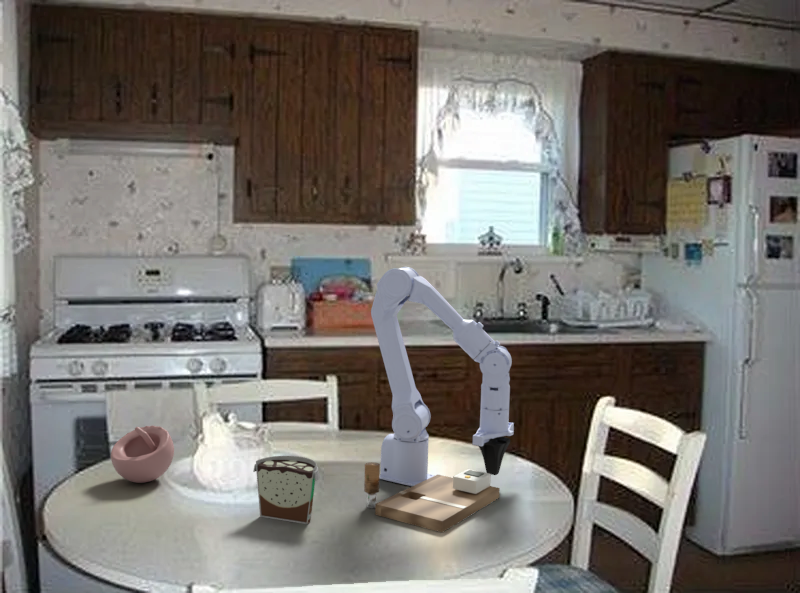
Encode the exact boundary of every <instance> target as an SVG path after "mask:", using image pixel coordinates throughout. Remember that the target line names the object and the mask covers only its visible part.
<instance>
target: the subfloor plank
mask: <svg viewBox="0 0 800 593" xmlns="http://www.w3.org/2000/svg"><path fill="white" fill-rule="evenodd" d="M498 498H499V499H500V487H496V486H492V485H490V486H489V487H487V488H486V489H484V490H482V491H480V492H479V493H477V494H474V493H470V492H465V491H461V490H456V489H453V477H451V476H446V475H441V474H435V476H433V477H431V478H429V479H427V480H425V481H423V482H421V483H419V484H416V485H414V486H409V487H408V488H405V489H404V490H400V491H399V492H397V493H395V494H393V495H391V496H389V497H387V498H385V499H383V500H381V501H378V502H376V504H375V508H374V509H375V512H374V515H376V516H379V517H382V518H386V519H388V520H389V519H390V520H393V521H397V522H402V523H405V524H409V525H412V526H416V527H420V528H422V529H423V528H424V529H428V530H431V531H434V532H435V531H436V532H439V533H444V532H445V530H446V531H447V530H448V528H449V529H450V528H452V527H454V526H456V525H457V524H459V523H460V522H462V521H464V520H465V519H467V518H469V517H470V516H472V515H474V514H475V513H477V512H479V511H480V510H482V509H483V507H484V508H486V507H487V506H488V504H489V505H490V504H492V503H493V501H494V502H495V501H497V500H499V499H498ZM496 499H497V500H496ZM491 502H492V503H491ZM481 508H482V509H481ZM478 510H479V511H478ZM476 511H477V512H476ZM473 513H474V514H473ZM471 514H472V515H471ZM468 516H469V517H468ZM463 519H464V520H463ZM453 525H454V526H453ZM443 531H444V532H443Z"/></svg>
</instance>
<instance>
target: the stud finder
mask: <svg viewBox="0 0 800 593" xmlns="http://www.w3.org/2000/svg"><path fill="white" fill-rule="evenodd" d="M491 475H492V474H490V473H487V472H484V471H480V470H475V469H470V468H468V469H465V470H463V471H461V472H458V474H455V475H453V476H452V478H453V489H456V490H461V491H465V492H470V493H474V494H477V493H479V492H480V491H482V490H484V489H486V488H487V487H489V486H491V483H492V482H491V477H492V476H491Z"/></svg>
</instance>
